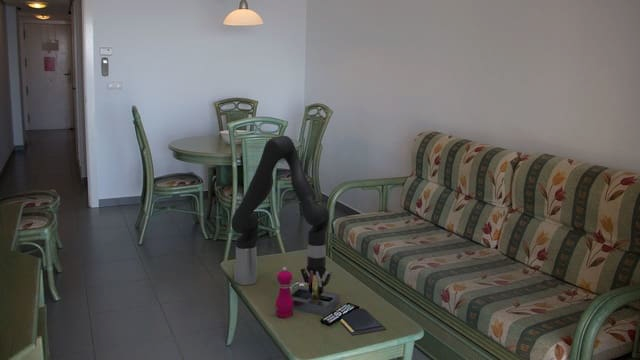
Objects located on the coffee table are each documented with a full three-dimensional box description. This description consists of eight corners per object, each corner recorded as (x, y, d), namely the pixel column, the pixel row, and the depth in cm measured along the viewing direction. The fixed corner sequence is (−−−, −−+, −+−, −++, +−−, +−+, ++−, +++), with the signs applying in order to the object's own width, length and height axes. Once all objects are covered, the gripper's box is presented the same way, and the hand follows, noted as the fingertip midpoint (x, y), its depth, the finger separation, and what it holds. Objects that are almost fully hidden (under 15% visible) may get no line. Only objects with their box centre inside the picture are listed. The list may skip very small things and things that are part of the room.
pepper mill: (286, 319, 221) (286, 272, 216) (271, 315, 224) (271, 268, 220) (296, 313, 227) (297, 266, 222) (282, 308, 230) (282, 262, 226)
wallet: (387, 327, 214) (351, 333, 209) (387, 331, 214) (350, 337, 209) (365, 305, 232) (331, 310, 227) (365, 309, 232) (331, 314, 227)
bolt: (305, 306, 232) (305, 275, 229) (312, 300, 238) (312, 269, 235) (319, 309, 230) (320, 277, 227) (325, 303, 236) (326, 272, 233)
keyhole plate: (284, 306, 232) (284, 298, 231) (299, 294, 245) (299, 286, 244) (326, 316, 225) (327, 307, 224) (339, 302, 237) (340, 294, 236)
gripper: (296, 254, 229) (296, 293, 232) (328, 259, 223) (328, 300, 227) (304, 248, 235) (304, 287, 239) (336, 253, 230) (335, 293, 233)
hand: (316, 293), depth 233 cm, fingers closed on bolt, 3 cm apart
